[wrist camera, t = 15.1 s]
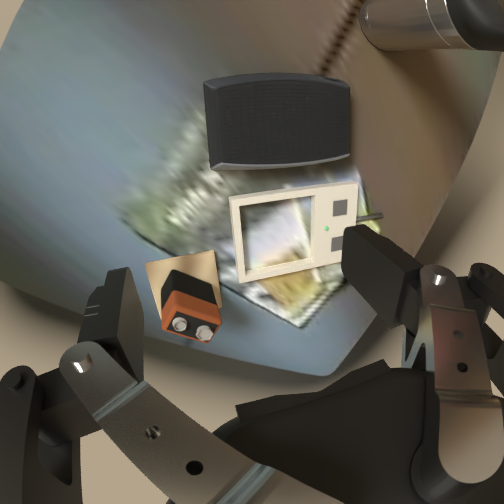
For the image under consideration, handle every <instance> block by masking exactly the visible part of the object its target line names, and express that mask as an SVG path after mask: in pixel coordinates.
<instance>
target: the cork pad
mask: <svg viewBox="0 0 504 504" xmlns="http://www.w3.org/2000/svg"><path fill="white" fill-rule="evenodd" d="M145 267H146V270H147V274H148V278H149V281H150V285H151V288H152V292H153V295H154V298H155V302H156V305H157V308H158V311H159V315H160V318H161V288H162V286H163V284H164V283H165V281H166V279H167V277H168V275H169V273H170V271H171V270H172V269H174V270H177V271H180V272H182V273H185V274H187V275H190V276H192V277H195V278H197V279H200V280H202V281H205V282H207V283H210V284H211V285H212V287H213V291H214V295H215V298H216V302H217V305H218V308H221V307H222V301H221V295H220V288H219V282H218V275H217V269H216V262H215V255H214V250H211V251H205V252H200V253H195V254H189V255H184V256H179V257H173V258H168V259H163V260H158V261H152V262H147V263H145Z"/></svg>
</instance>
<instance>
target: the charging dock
mask: <svg viewBox="0 0 504 504" xmlns="http://www.w3.org/2000/svg"><path fill="white" fill-rule="evenodd" d="M304 196H311V246H310V258H306V259H301V260H297V261H292V262H287V263H282V264H277V265H272V266H267V267H262V268H257V269H252V270H247V271H245V265H244V254H243V244H242V233H241V222H240V211H239V206H243V205H249V204H256V203H262V202H269V201H276V200H283V199H290V198H297V197H304ZM357 199H358V183H357V182H355V181H345V182H336V183H327V184H318V185H310V186H301V187H294V188H286V189H278V190H271V191H264V192H257V193H250V194H244V195H237V196H231V197H229V205H230V214H231V224H232V233H233V242H234V252H235V261H236V270H237V278H238V281H239V283H244V282H249V281H253V280H258V279H263V278H268V277H273V276H277V275H282V274H287V273H291V272H296V271H301V270H305V269H310V268H314V267H319V266H323V265H328V264H332V263H337V262H341V257H342V244H343V232H344V229H345V228H346V227H350V226H355V225H356V222H358V221H364V220H370V219H376V218H382V217H383V214H382V213H381V214H374V215H368V216H362V217H356V214H357Z"/></svg>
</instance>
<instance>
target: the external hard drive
mask: <svg viewBox="0 0 504 504" xmlns="http://www.w3.org/2000/svg"><path fill="white" fill-rule="evenodd" d="M203 86H204V99H205V112H206V125H207V136H208V148H209V157H210V158H209V162H210V168H211V170H258V169H276V168H289V167H298V166H306V165H313V164H319V163H324V162H329V161H334V160H338V159H342V158H346V157H348V156H349V155H350V87H349V85H348V84H347V83H345V82H344V81H341V80H338V79H334V78H329V77H323V76H316V75H308V74H295V73H257V74H244V75H235V76H228V77H222V78H217V79H212V80H208V81H204V82H203Z"/></svg>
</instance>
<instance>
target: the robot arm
mask: <svg viewBox="0 0 504 504" xmlns="http://www.w3.org/2000/svg"><path fill="white" fill-rule="evenodd" d="M359 21H360V26H361V28H362V31H363V33H364V34H365V36H366V37H367V39H368V40H369V41H370V42H371V43H372V44H373V45H374V46H376V47H377V48H379V49H381V50H384V51H402V50H425V49H466V50H487V51H502V52H504V10H503V8H502V7H501V5H500V3H499V2H498V0H367V1H366V2H365V3H364V4H363V5H362V6H361V8H360V12H359ZM341 268H342V272H343V275H344V276H345V278H346V279H347V280H348V281H349V282H350V283H351V284H352V286H353V287H354V288H355V289H356V290H357V291H358V292H359V293H360V294H361V295H362V297H363V298H364V299H365V300H366V301H367V302H368V303H369V304H370V305H371V307H372V308H373V309H374V310H375V311H376V312H377V313H378V314H379V316H380V317H381V318H382V319H383V320H384V321H385V322H386V324H387V325H388V326H389V327H390V328H394V327H397V326H399V325H401V324H404V325H405V328H404V331H403V344H402V363H401V364H402V365H401V368H390V367H389V366H388V365H387V364H386V362H385V361H384V360H383V359H382V360H379V361H377V362H374V363H372V364H369V365H367V366H364V367H362V368H359V369H356V370H354V371H351V372H350V373H348V374H347V375H345V376H344V377H342V378H341V379H339V380H338V381H336V382H334V383H333V384H332V385H330V386H328V387H327V388H325V389H323V390H321V391H319V392H312V393H303V394H289V395H275V396H272V397H268V398H264V399H260V400H256V401H252V402H248V403H244V404H239V405H235V407H236V412H237V417H236V418H234V419H232V420H230V421H228V422H227V423H225V424H223V425H222V426H220V427H219V428H218V429H217V430H215V431H214V432H213V433H211V432H209V431H208V430H207V429H205V428H204V427H202V426H201V425H200V424H198V423H197V422H196V421H194V420H193V419H192V418H190V417H189V416H188V415H186V414H185V413H184V412H183V411H181V410H180V409H179V408H178V407H176V406H175V405H174V404H173V403H171V402H170V401H169V400H168V399H166V398H165V397H164V396H163V395H162V394H160V393H159V392H158V391H157V390H156V389H155V388H153V387H152V386H151V385H150V384H149V383H147V382H146V381H144V375H143V340H144V338H143V337H144V315H143V309H142V305H141V302H140V299H139V295H138V292H137V289H136V286H135V283H134V280H133V276H132V273H131V270H130V268H129V267H125V268H120V269H115V270H109V271H108V273H107V277H106V280H105V284H104V286H100V287H97V288H96V289H95V290H94V292H93V293H92V294H91V295H90V296H89V299H88V303H87V308H86V310H85V314H84V316H85V317H84V318H83V322H82V325H81V329H80V333H79V338H78V342H77V344H75V345H73V346H72V347H70V348H69V349H67V350H66V351H65V353H64V354H63V355H62V357H61V359H60V362H59V368H57V369H54V370H52V371H49V372H47V373H44V374H41V375H39V376H37V375H36V374H35V372H34V371H33V370H32V369H31V368H30V367H28V366H17V367H14V368H12V369H11V370H9V371H8V372H7V373H6V374H5V375H4V376H3V378H2V379H1V381H0V504H83V502H82V489H81V466H80V437H83V436H85V435H88V434H90V433H93V432H96V431H98V430H101V429H103V430H104V432H105V433H106V434H107V435H108V436H109V437H110V439H111V440H112V441H113V442H114V443H115V444H116V445H117V447H118V448H119V449H120V450H121V451H122V452H123V453H124V454H125V455H126V456H127V457H128V459H130V461H131V462H132V463H133V464H134V465H135V466H136V467H137V468H138V469H139V470H140V471H141V472H142V473H143V474H144V475H145V476H146V477H147V478H148V479H149V480H150V481H151V482H152V483H153V484H154V485H156V486H157V487H158V488H159V489H160V490H161V491H162V492H163V493H164V494H165V495H166V496H168V497H169V499H168V501H167V503H166V504H504V398H501V397H498V396H495V395H493V393H492V388H491V381H492V382H493V383H494V385H495V386H496V387H497V388H498V390H499V391H500V392H501V393H502V395H503V396H504V341H502V340H501V339H500V337H499V336H498V335H497V334H496V333H495V332H494V331H493V330H492V329H491V328H490V327H489V326H488V325H487V324H486V323H485V321H486V319H487V317H488V315H489V312H490V310H491V308H493V309H494V310H495V311H496V312H497V313H498V314H499V315H500V316H501V317H502V318H503V319H504V275H503V274H502V273H501V272H499V271H498V270H497V269H496V268H494V267H492V266H490V265H488V264H485V263H475V264H473V265H472V266H471V268H470V272H469V275H468V276H465V277H456V276H455V274H454V273H453V272H452V271H451V270H449V269H447V268H445V267H443V266H439V265H426V266H423V265H422V264H421V263H420V262H418V261H417V260H416V259H415V258H413V257H412V256H411V255H409V254H408V253H407V252H405V251H403V249H402V248H400V247H399V246H397V245H396V244H395V243H394V242H392V241H391V240H390V239H388V238H386V237H383V236H381V235H379V234H377V233H376V232H374V231H373V230H372V229H370V228H369V227H368V226H366V225H365V224H361V225H355V226H350V227H346V228H345V229H344V232H343V244H342V257H341ZM490 380H491V381H490Z"/></svg>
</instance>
